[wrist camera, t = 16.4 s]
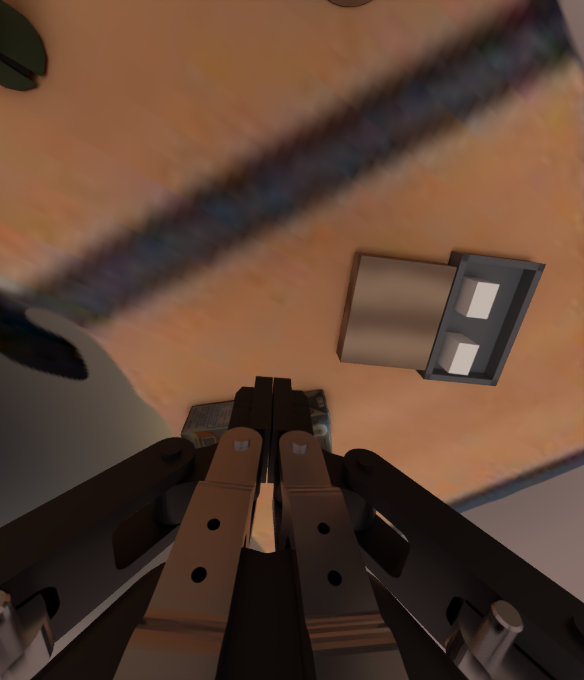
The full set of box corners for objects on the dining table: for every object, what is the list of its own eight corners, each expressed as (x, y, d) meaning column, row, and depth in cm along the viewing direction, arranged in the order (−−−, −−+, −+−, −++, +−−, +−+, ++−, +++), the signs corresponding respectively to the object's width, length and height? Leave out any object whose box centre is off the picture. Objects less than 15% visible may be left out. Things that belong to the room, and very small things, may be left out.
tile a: (478, 281, 34) (499, 284, 34) (458, 275, 38) (478, 277, 38) (466, 316, 35) (487, 319, 36) (448, 307, 39) (467, 309, 39)
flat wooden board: (355, 252, 37) (361, 255, 34) (444, 263, 38) (457, 267, 35) (336, 352, 42) (340, 362, 39) (415, 360, 42) (425, 370, 40)
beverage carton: (328, 433, 47) (335, 466, 41) (202, 448, 47) (190, 483, 41) (324, 387, 44) (330, 415, 38) (189, 403, 44) (174, 434, 38)
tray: (451, 251, 37) (463, 253, 35) (529, 261, 38) (545, 264, 36) (416, 370, 43) (423, 379, 41) (484, 377, 44) (496, 385, 41)
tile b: (459, 342, 37) (479, 345, 37) (443, 331, 40) (461, 333, 41) (448, 372, 38) (467, 375, 38) (433, 359, 42) (451, 361, 42)
